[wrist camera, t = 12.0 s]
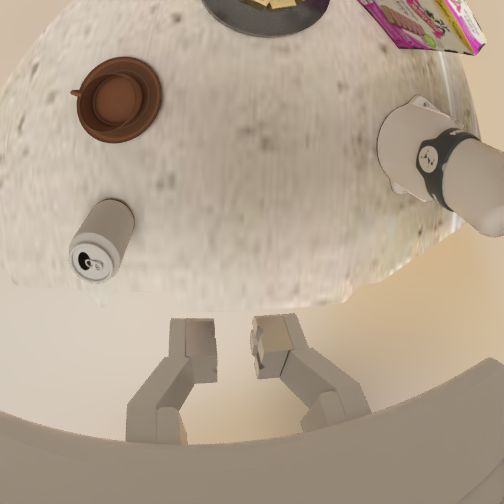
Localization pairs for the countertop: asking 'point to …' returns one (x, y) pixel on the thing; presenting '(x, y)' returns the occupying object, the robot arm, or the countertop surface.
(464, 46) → the candy bar box
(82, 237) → the can
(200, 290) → the countertop surface
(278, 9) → the gray slab gold ring
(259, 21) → the cap plate
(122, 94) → the cup and saucer
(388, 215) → the countertop surface
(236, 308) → the countertop surface
